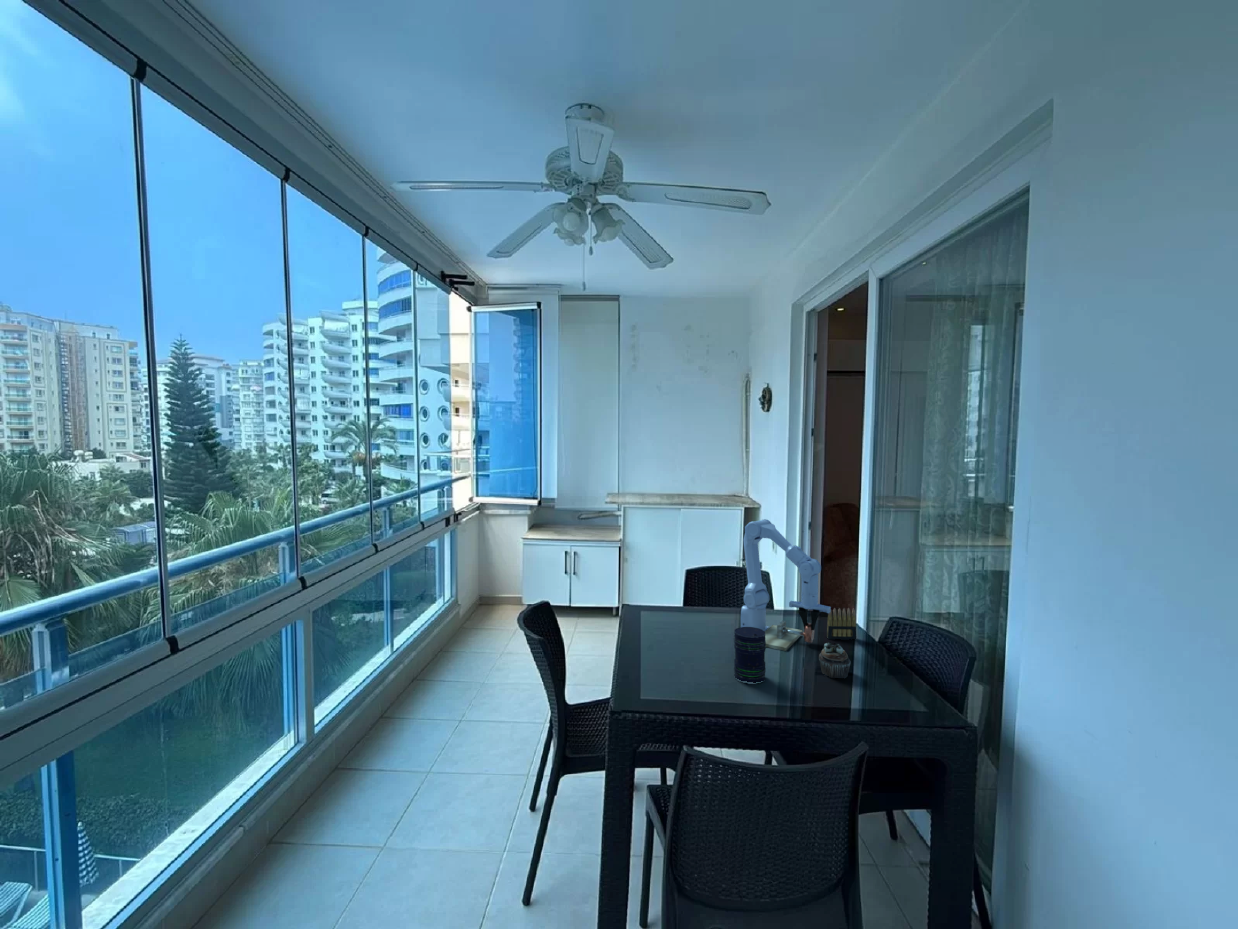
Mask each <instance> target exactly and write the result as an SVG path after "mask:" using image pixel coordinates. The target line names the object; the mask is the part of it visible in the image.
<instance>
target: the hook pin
mask: <svg viewBox="0 0 1238 929" xmlns="http://www.w3.org/2000/svg"><path fill="white" fill-rule="evenodd" d="M811 623H812V622H807V623H806V625H805V629H804V628H803V630H804V631H803V632H799V631H794V630H788V629H783V632H784V633H789V634H794V635H800V637H803V641H804V642H805V643H810V644H811V643H813V642H814V638H815V629H814V630H811Z"/></svg>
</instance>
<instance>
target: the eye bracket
mask: <svg viewBox="0 0 1238 929" xmlns="http://www.w3.org/2000/svg"><path fill="white" fill-rule="evenodd" d="M783 629H788V630H794V631H799V632H804V631H803V630H804V629H803V630H802V629H799V628H798V629H797V628H792V627H787V621H786V620H781V621H779V623H778V624H772V625H771V626H769V628H768V629H767V630H766V631H765V640H766V645H765V647H766V648H769V649H774V650H779V651H784V652H787V651H788V650H789V649H790V648H791V646H792V645H793V644H794V643H796V641H797V640H798V639H799V638H800V637H801V636H800V635H794V634H789V633H784V632H783Z"/></svg>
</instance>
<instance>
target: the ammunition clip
mask: <svg viewBox="0 0 1238 929" xmlns="http://www.w3.org/2000/svg"><path fill="white" fill-rule="evenodd" d="M846 613H847V614H846ZM856 623H857V618H856V610H855V608H852V610H851V609H850V608H849V607H848V608H847V611H846V608H845V607H843V608H842V610H841V608H840V607H838V609H836V607H834V608H833V610H832V611H831V612H830V613H827V624H826V636H825V637H827V638H828V639H827V638H826V639H827V640H835V639H841V640H843V641H851V640H852V639H856V640H857V624H856ZM849 639H851V640H849ZM841 640H840V641H841ZM852 641H853V640H852Z"/></svg>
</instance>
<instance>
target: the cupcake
mask: <svg viewBox="0 0 1238 929" xmlns="http://www.w3.org/2000/svg"><path fill="white" fill-rule="evenodd" d="M818 660H819V664H820V669H821V673H822V674H825V675H827V676H829V677H828V678H830V677H831V678H830V679H835V678H844V679H846V678H847V677H848V676H849V671H850V666H851V662H852V661H851V659H850V658H849V656H848V654H847V652H846V650H844V649H843V647H842V646H841V644H840V643H838V642H836V643H833V642H831V641H826V643H824V645H823V648H822V650H821V651H820V653H819V654H818ZM825 675H824V676H825ZM827 676H826V677H827Z"/></svg>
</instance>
